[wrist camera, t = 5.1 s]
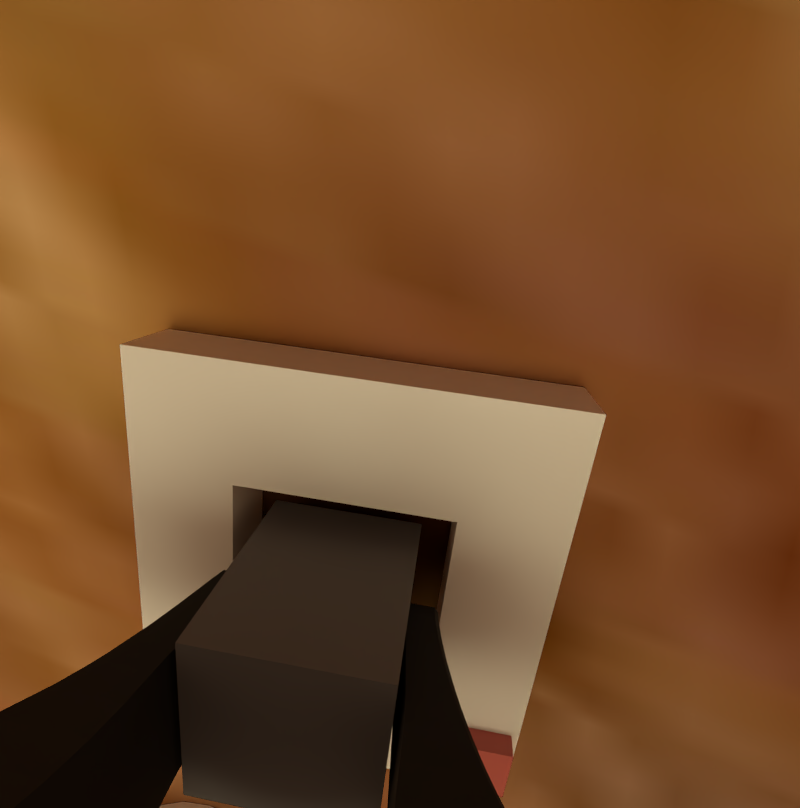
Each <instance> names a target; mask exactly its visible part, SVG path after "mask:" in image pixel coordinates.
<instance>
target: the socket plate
mask: <svg viewBox="0 0 800 808" xmlns="http://www.w3.org/2000/svg"><path fill="white" fill-rule="evenodd" d="M120 353H121V366H122V378H123V390H124V402H125V414H126V426H127V439H128V451H129V463H130V475H131V487H132V500H133V512H134V524H135V536H136V548H137V560H138V573H139V585H140V597H141V609H142V621H143V629H144V628H146V627H147V626H149V625H150V624H151V623H153V622H154V621H156V620H157V619H158V618H160V617H161V616H162V615H164V614H165V613H167V612H168V611H169V610H171V609H172V608H174V607H175V606H176V605H178V604H179V603H180V602H182V601H183V600H184V599H186V598H187V597H188V596H190V595H191V594H192V593H194V592H195V591H196V590H197V589H199V588H200V587H201V586H203V585H204V584H205V583H207V582H208V581H209V580H211V579H212V578H213V577H215V576H216V575H217V574H219V573H220V572H222V571H223V570H227V569H228V568H229V566H230V565H231V563H232V562H233V560H234V559H235V558H236V556H237V555H238V553H239V552H240V551H241V549H242V548H243V546H244V545H245V544H246V542H247V541H248V539H249V538H250V537H251V535H252V534H253V532H254V531H255V529H256V528H257V527H258V525H259V524H260V522H261V521H262V501H263V490H265V491H271V492H277V493H283V494H289V495H295V496H301V497H307V498H313V499H319V500H325V501H331V502H337V503H343V504H350V505H356V506H362V507H368V508H374V509H380V510H386V511H392V512H398V513H404V514H410V515H416V516H422V517H428V518H434V519H440V520H446V521H452V522H451V528H450V534H449V540H448V546H447V551H446V557H445V563H444V569H443V575H442V581H441V586H440V592H439V598H438V604H437V611H438V617H439V626H440V632H441V638H442V643H443V647H444V652H445V656H446V660H447V664H448V667H449V671H450V674H451V677H452V681H453V684H454V687H455V691H456V694H457V697H458V700H459V703H460V706H461V709H462V711H463V714H464V717H465V720H466V722H467V725H468V728H469V730H470V733H471V735H472V738H473V740H474V743H475V745H476V748H477V750H478V752H479V755H480V757H481V759H482V762H483V764H484V766H485V768H486V771H487V773H488V775H489V777H490V779H491V781H492V783H493V785H494V788H495V790H496V792H497V794H498V796H500V797H503V794H504V790H505V786H506V783H507V779H508V775H509V772H510V768H511V764H512V761H513V756H514V752H515V749H516V745H517V741H518V738H519V734H520V730H521V727H522V723H523V719H524V716H525V712H526V708H527V704H528V701H529V697H530V693H531V690H532V686H533V682H534V679H535V675H536V671H537V668H538V664H539V660H540V657H541V653H542V649H543V646H544V642H545V638H546V635H547V631H548V627H549V624H550V620H551V616H552V612H553V609H554V605H555V601H556V598H557V594H558V590H559V587H560V583H561V579H562V576H563V572H564V568H565V565H566V561H567V557H568V554H569V550H570V546H571V543H572V539H573V535H574V532H575V528H576V524H577V520H578V517H579V513H580V509H581V506H582V502H583V498H584V495H585V491H586V487H587V484H588V480H589V476H590V473H591V469H592V465H593V462H594V458H595V454H596V451H597V447H598V443H599V440H600V436H601V432H602V428H603V425H604V421H605V417H606V414H605V413H604V411H603V410H602V409H601V407H600V406H599V405H598V404H597V402H596V401H595V400H594V399H593V397H592V396H591V395H590V394H589V392H588V391H587V390H586V389H585V387H578V386H571V385H564V384H557V383H550V382H543V381H535V380H528V379H521V378H514V377H507V376H500V375H493V374H486V373H479V372H472V371H464V370H457V369H450V368H443V367H436V366H429V365H422V364H415V363H408V362H400V361H393V360H386V359H379V358H372V357H365V356H358V355H351V354H344V353H337V352H329V351H322V350H315V349H308V348H301V347H294V346H287V345H280V344H273V343H266V342H258V341H251V340H244V339H237V338H230V337H223V336H216V335H209V334H202V333H194V332H187V331H180V330H173V329H167V330H164V331H160V332H157V333H154V334H151V335H148V336H145V337H142V338H138V339H135V340H132V341H129V342H126V343H123V344H120ZM391 742H392V732H391V739H390V746H389V753H388V760H387V767H386V768H388V769H390V758H391Z"/></svg>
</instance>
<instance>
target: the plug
mask: <svg viewBox="0 0 800 808" xmlns="http://www.w3.org/2000/svg"><path fill="white" fill-rule="evenodd" d="M421 526H422V524H419V523H413V522H407V521H401V520H394V519H388V518H382V517H376V516H370V515H364V514H358V513H352V512H346V511H340V510H334V509H327V508H321V507H315V506H309V505H303V504H297V503H291V502H285V501H279V500H276V501H275V503H274V504H273V506H272V507H271V508H270V510H269V511H268V513H267V514H266V515H265V517H264V518H263V520H262V521H261V522H260V524H259V525H258V527H257V528H256V529H255V531H254V532H253V534H252V535H251V537H250V538H249V539H248V541H247V542H246V544H245V545H244V546H243V548H242V549H241V551H240V552H239V553H238V555H237V556H236V558H235V559H234V560H233V562H232V563H231V565H230V566H229V568H228V569H227V570H226V572H225V573H224V575H223V576H222V577H221V579H220V580H219V582H218V583H217V584H216V586H215V587H214V589H213V590H212V591H211V593H210V594H209V596H208V597H207V599H206V600H205V601H204V603H203V604H202V606H201V607H200V608H199V610H198V611H197V613H196V614H195V615H194V617H193V618H192V620H191V621H190V622H189V624H188V625H187V627H186V628H185V630H184V631H183V632H182V634H181V635H180V637H179V638H178V639H177V641H176V642H175V651H176V668H177V686H178V704H179V722H180V740H181V758H182V775H183V793H184V795H188V796H192V797H197V798H201V799H206V800H211V801H215V802H220V803H225V804H229V805H234V806H238V807H243V808H381V801H382V794H383V787H384V780H385V773H386V767H387V760H388V753H389V746H390V739H391V732H392V725H393V718H394V712H395V705H396V698H397V691H398V684H399V677H400V670H401V663H402V657H403V650H404V643H405V636H406V629H407V622H408V615H409V608H410V602H411V595H412V588H413V581H414V574H415V567H416V560H417V553H418V546H419V540H420V533H421Z"/></svg>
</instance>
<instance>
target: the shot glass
mask: <svg viewBox="0 0 800 808" xmlns="http://www.w3.org/2000/svg"><path fill="white" fill-rule="evenodd" d="M159 808H214V807H212V806H209V805H202V804H195V803H189V802H179V803H172V804H166V805H161V806H160V807H159Z"/></svg>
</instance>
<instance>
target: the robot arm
mask: <svg viewBox="0 0 800 808" xmlns="http://www.w3.org/2000/svg"><path fill="white" fill-rule="evenodd" d="M225 572H226V570H223V571H222V572H220V573H219V574H217V575H216V576H215V577H213V578H212V579H211V580H209V581H208V582H207V583H205V584H204V585H203V586H201V587H200V588H199V589H197V590H196V591H195V592H194V593H192V594H191V595H190V596H188V597H187V598H186V599H184V600H183V601H182V602H180V603H179V604H178V605H176V606H175V607H174V608H172V609H171V610H169V611H168V612H167V613H165V614H164V615H162V616H161V617H160V618H158V619H157V620H156V621H154V622H153V623H151V624H150V625H149V626H147V627H146V628H144V629H143V630H141V631H140V632H138V633H137V634H135V635H134V636H132V637H131V638H129V639H128V640H126V641H125V642H123V643H122V644H120V645H119V646H117V647H116V648H114V649H113V650H111V651H110V652H108V653H107V654H105V655H104V656H102V657H100V658H99V659H97V660H96V661H94V662H92V663H91V664H89V665H87V666H86V667H84V668H82V669H80V670H79V671H77V672H75V673H73V674H72V675H70V676H68V677H66V678H65V679H63V680H61V681H59V682H57V683H56V684H54V685H52V686H50V687H48V688H46V689H44V690H42V691H40V692H38V693H36V694H34V695H32V696H30V697H28V698H26V699H24V700H22V701H20V702H18V703H16V704H14V705H12V706H10V707H8V708H6V709H4V710H2V711H0V808H159V807H160V805H161V803H162V801H163V799H164V797H165V795H166V793H167V791H168V789H169V787H170V785H171V783H172V781H173V779H174V778H175V776H176V774H177V772H178V770H179V769H180V767H181V765H182V758H181V740H180V722H179V704H178V686H177V668H176V651H175V642H176V641H177V639H178V638H179V637H180V635H181V634H182V632H183V631H184V630H185V628H186V627H187V625H188V624H189V622H190V621H191V620H192V618H193V617H194V615H195V614H196V613H197V611H198V610H199V608H200V607H201V606H202V604H203V603H204V601H205V600H206V599H207V597H208V596H209V594H210V593H211V591H212V590H213V589H214V587H215V586H216V584H217V583H218V582H219V580H220V579H221V577H222V576H223V575H224V573H225ZM388 808H504V806H503V804H502V802H501V800H500V798H499V796H498V794H497V792H496V790H495V788H494V785H493V783H492V781H491V779H490V777H489V775H488V773H487V771H486V768H485V766H484V764H483V762H482V759H481V757H480V755H479V752H478V750H477V748H476V745H475V743H474V740H473V738H472V735H471V733H470V730H469V728H468V725H467V722H466V720H465V717H464V714H463V711H462V709H461V706H460V703H459V700H458V697H457V694H456V691H455V687H454V684H453V681H452V677H451V674H450V671H449V667H448V664H447V660H446V656H445V652H444V647H443V643H442V638H441V632H440V626H439V617H438V611H437V610H436V609H435V608H434V607H428V606H423V605H417V604H412V603H410V608H409V615H408V622H407V629H406V636H405V643H404V650H403V657H402V663H401V670H400V677H399V684H398V691H397V698H396V705H395V712H394V718H393V725H392V742H391V758H390V775H389V791H388Z"/></svg>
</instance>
